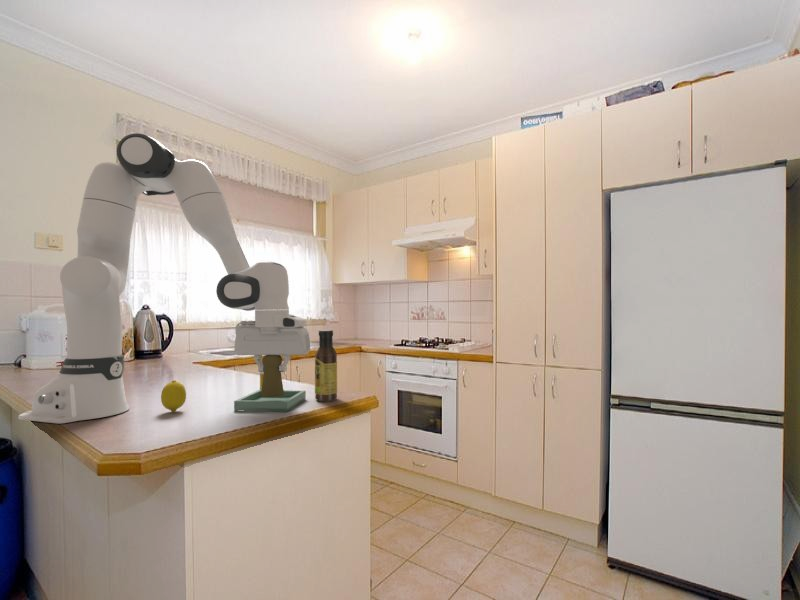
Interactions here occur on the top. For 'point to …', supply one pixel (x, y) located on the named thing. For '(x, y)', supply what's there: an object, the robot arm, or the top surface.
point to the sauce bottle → (326, 368)
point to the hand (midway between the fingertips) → (272, 371)
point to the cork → (272, 377)
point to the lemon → (173, 396)
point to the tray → (270, 402)
